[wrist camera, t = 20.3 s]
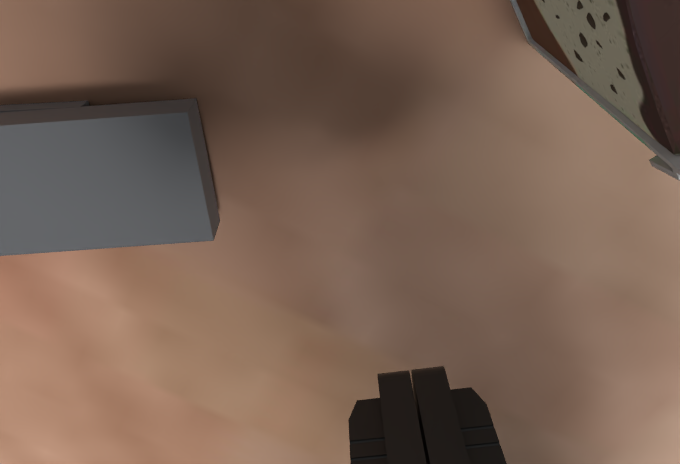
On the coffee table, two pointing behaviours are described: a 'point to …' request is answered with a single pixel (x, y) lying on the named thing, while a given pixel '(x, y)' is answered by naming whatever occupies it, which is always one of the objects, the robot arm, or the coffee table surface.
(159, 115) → the domino
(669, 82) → the food container
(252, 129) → the coffee table surface
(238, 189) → the coffee table surface
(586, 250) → the coffee table surface
